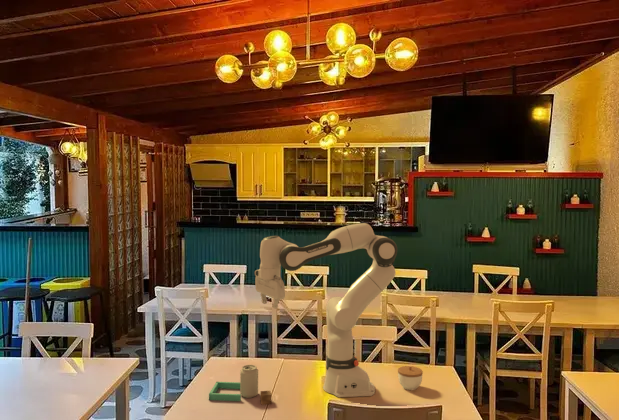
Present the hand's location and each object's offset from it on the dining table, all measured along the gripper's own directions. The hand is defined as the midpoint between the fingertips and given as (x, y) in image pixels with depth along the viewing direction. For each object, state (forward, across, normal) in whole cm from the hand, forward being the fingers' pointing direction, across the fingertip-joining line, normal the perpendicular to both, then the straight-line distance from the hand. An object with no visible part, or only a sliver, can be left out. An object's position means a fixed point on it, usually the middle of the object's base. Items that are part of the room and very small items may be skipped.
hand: (269, 305), depth 215 cm
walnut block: (+37, -11, +7) cm, 39 cm away
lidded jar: (+37, -30, -54) cm, 72 cm away
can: (+37, -1, +10) cm, 38 cm away
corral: (+37, +4, +17) cm, 41 cm away
